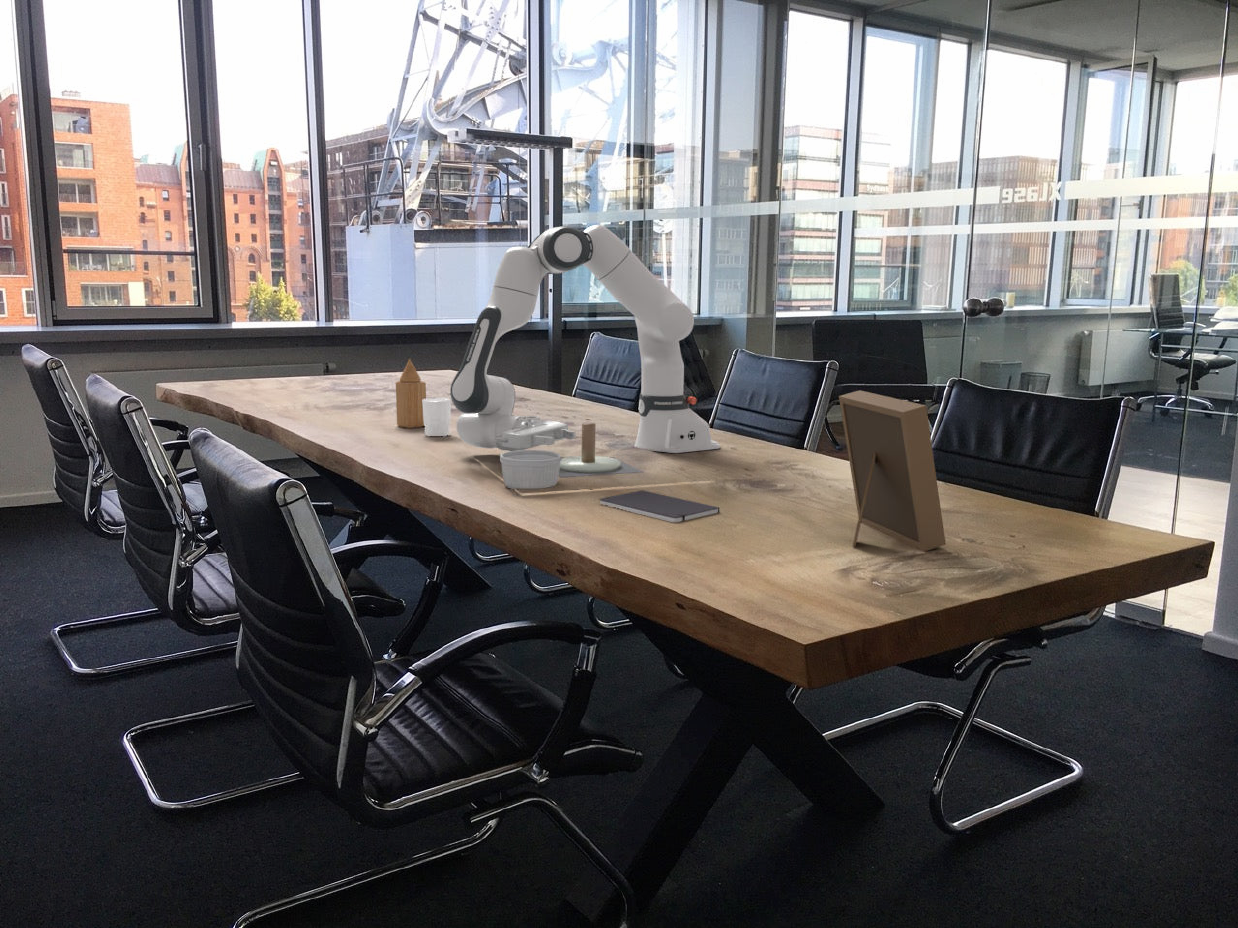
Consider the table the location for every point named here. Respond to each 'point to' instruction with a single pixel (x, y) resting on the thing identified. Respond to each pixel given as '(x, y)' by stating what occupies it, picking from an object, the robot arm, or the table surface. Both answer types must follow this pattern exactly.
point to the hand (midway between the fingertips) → (563, 438)
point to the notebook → (659, 506)
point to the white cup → (436, 416)
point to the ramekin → (530, 468)
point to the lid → (589, 456)
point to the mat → (623, 469)
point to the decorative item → (410, 398)
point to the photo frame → (893, 468)
